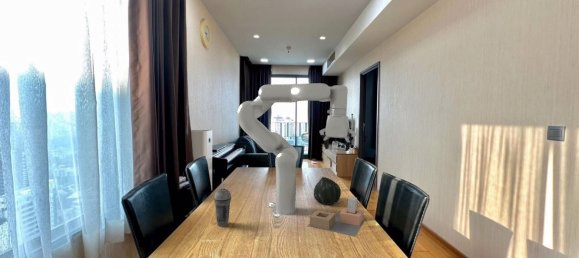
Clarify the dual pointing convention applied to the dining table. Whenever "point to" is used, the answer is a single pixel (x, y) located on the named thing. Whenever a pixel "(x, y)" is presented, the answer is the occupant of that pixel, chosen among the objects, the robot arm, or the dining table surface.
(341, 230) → the dock plate
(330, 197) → the squash
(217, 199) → the beverage cup
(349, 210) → the peg
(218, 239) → the dining table surface
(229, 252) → the dining table surface
